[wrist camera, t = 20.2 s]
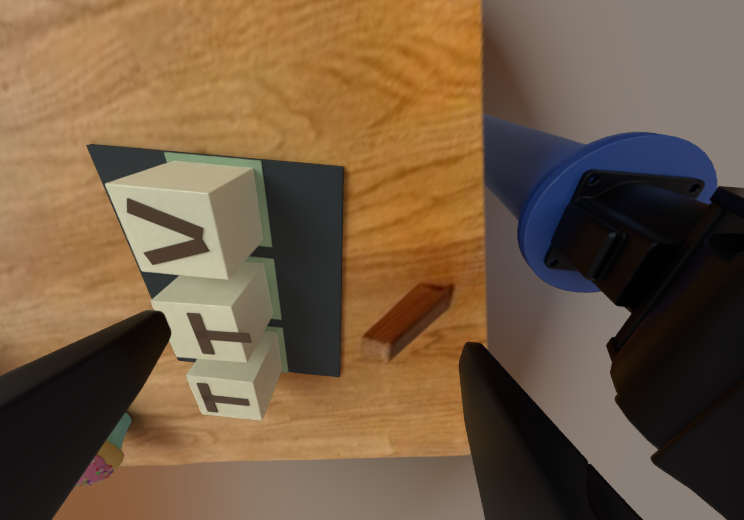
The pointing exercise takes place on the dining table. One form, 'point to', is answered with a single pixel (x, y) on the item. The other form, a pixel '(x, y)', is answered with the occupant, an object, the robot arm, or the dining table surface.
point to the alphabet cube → (238, 382)
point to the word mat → (275, 247)
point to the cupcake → (107, 455)
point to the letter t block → (217, 314)
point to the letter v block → (189, 217)
